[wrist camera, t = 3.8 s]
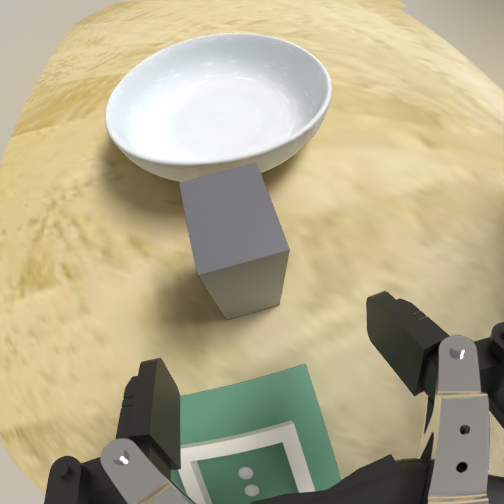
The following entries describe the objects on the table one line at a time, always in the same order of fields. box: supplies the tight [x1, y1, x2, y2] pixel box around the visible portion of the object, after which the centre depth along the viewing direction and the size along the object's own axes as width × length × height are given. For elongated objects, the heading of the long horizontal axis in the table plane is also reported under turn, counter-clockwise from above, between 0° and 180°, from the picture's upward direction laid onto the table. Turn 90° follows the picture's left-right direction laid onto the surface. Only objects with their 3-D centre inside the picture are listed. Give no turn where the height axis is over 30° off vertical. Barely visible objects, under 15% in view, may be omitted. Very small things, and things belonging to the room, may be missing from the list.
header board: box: [171, 364, 341, 504], centre depth 15 cm, size 16×12×3 cm
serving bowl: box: [105, 33, 332, 182], centre depth 26 cm, size 21×21×7 cm
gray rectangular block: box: [179, 163, 290, 320], centre depth 18 cm, size 5×4×10 cm
